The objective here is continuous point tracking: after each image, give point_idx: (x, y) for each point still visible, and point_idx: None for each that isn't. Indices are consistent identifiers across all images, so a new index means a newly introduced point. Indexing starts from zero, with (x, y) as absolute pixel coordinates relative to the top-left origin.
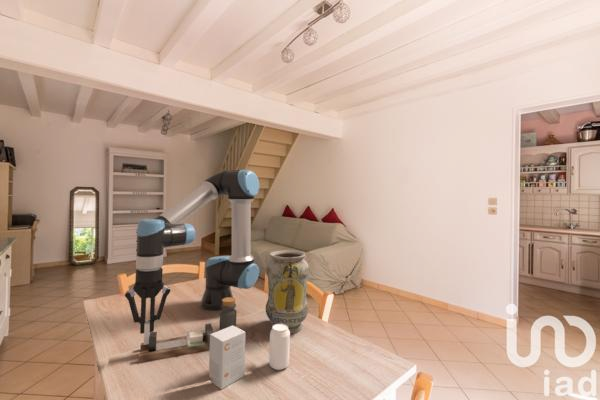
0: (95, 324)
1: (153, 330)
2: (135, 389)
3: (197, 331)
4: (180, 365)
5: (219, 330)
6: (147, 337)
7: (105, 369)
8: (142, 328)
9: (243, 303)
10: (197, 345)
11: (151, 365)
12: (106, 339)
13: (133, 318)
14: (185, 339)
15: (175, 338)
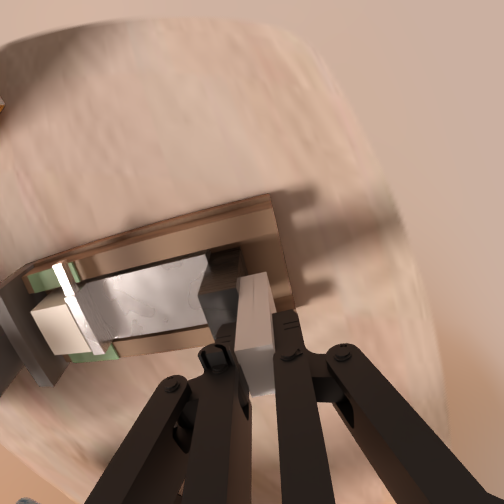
0: (447, 435)
1: (219, 330)
2: (221, 42)
3: (65, 351)
4: (98, 188)
5: (13, 348)
6: (248, 294)
7: (390, 198)
8: (286, 329)
9: (88, 484)
10: (45, 270)
11: (213, 199)
12: (422, 382)
13: (369, 364)
14: (111, 329)
15: (156, 346)
